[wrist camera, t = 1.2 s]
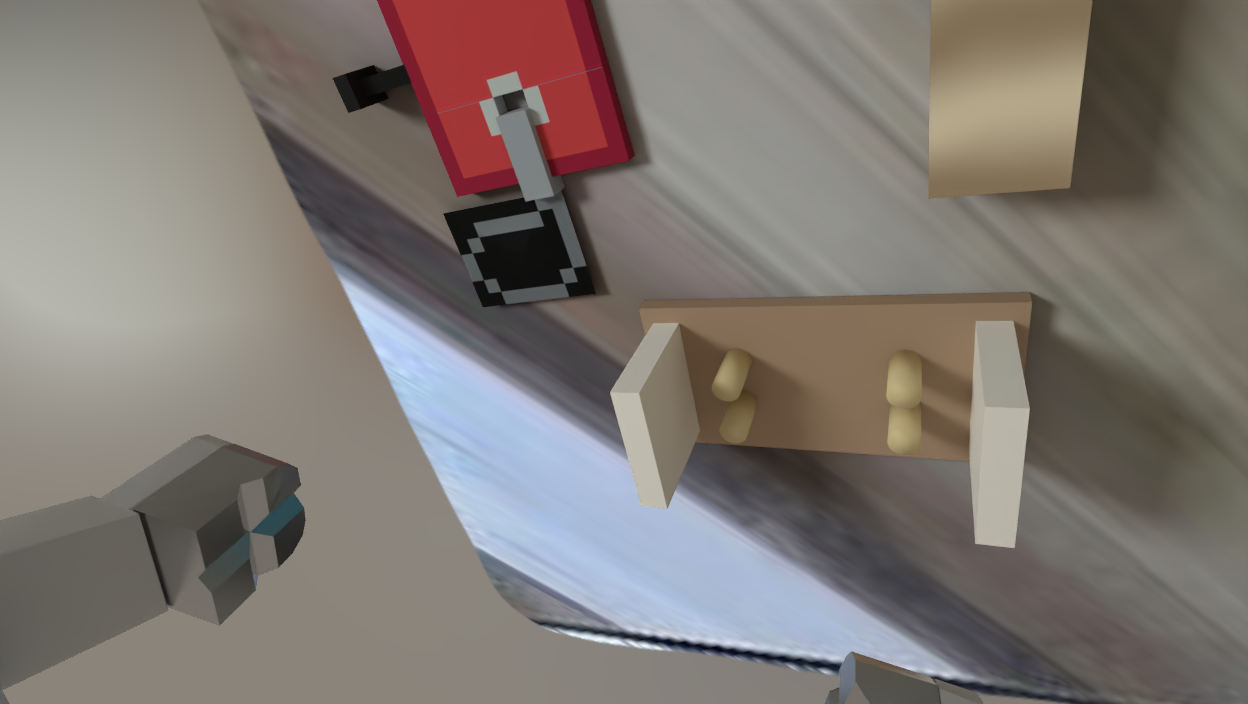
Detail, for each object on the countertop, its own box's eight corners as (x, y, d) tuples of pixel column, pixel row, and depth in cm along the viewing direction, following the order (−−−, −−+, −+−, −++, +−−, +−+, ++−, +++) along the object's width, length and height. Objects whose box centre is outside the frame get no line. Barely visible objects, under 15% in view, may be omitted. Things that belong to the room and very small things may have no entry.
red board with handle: (467, 303, 46) (672, 278, 40) (445, 323, 44) (657, 300, 37) (229, -245, 32) (480, -419, 26) (179, -256, 30) (440, -448, 24)
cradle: (1029, 292, 32) (1052, 388, 26) (1014, 452, 37) (1030, 565, 31) (644, 300, 41) (593, 375, 34) (673, 430, 45) (633, 517, 39)
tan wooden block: (933, -179, 25) (933, -187, 22) (1096, -225, 23) (1121, -241, 20) (929, 167, 31) (928, 198, 28) (1055, 155, 29) (1070, 188, 26)
